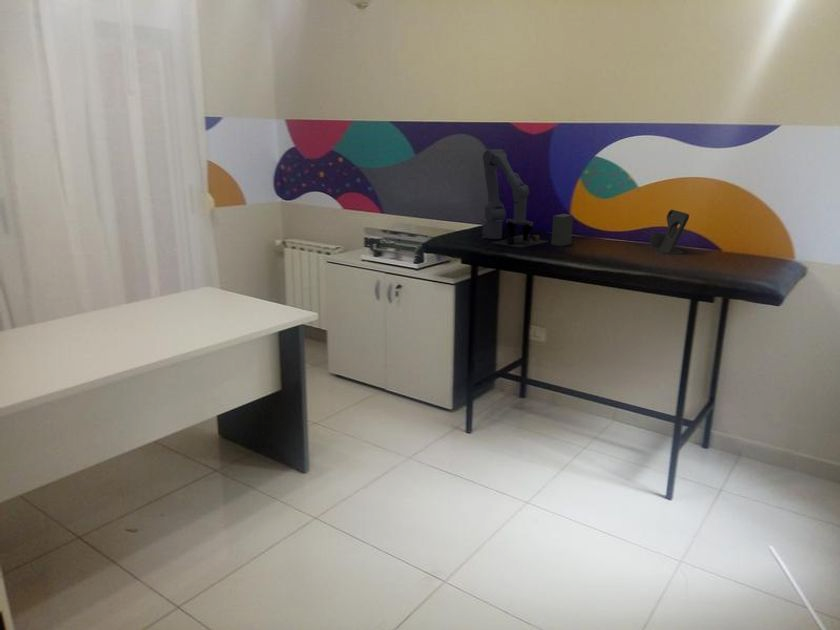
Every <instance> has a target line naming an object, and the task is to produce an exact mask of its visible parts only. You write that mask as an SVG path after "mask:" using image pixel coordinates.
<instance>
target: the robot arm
mask: <svg viewBox="0 0 840 630" xmlns="http://www.w3.org/2000/svg"><path fill="white" fill-rule="evenodd" d="M507 157H508V154H506V151H505V149H503V148H499V149H490V148H487V149H485V151H484V152H483V154H482V160H483V171H484V180H485V186H486V193H487V200H488V203H487V204H486V205H485V206H484V218H485V221H484V222H483V224H482V237H481V239H490V240H492V239H493V240H498V239H499V240H500V239H502V238H503V237H502V236H503V235H502V234H503V222H504V221H505V223H506V229H507V230H508V233H509V234H508V235H509V238H510V237H515V231H516V228H517V225H522V226H521V228H522V232H523V233H522V235H523V241H526V240H527V238H528V235H529V234H530V233H531V230H532V229H533V227H534V221H531V220H527V219H526V218H527V205H528V204H527V203H528V202H527V200H528V197H529V196H530V194H531V190H530V187H529V185H527V184H525V183H524V182H523V180H522V179H521V177H520V175H519V174H518V173H517V172H514V171H513V168H512V166H511V165H510V163H509V161H508V158H507ZM498 167H500V168H501V170H502V171H503V173H504V174H505V175H506V181H507V183H508V185H509V186H510V188H511V189H512V192H511V194H512V196H513V202H514V203H513V206H514V207H513V218H506V217H507V211H506V209H505V206H504V204H503V202H501V200H500V195H499V189H498V188H499V187H498V180H497V174H496V170H497V168H498Z"/></svg>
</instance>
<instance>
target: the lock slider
mask: <svg viewBox="0 0 840 630" xmlns="http://www.w3.org/2000/svg"><path fill="white" fill-rule="evenodd" d="M540 236H541V235H539V234H533V235H532V236H531V239H532V240H535V241H537V240H541V239H540Z"/></svg>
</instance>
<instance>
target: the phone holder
mask: <svg viewBox="0 0 840 630" xmlns="http://www.w3.org/2000/svg"><path fill="white" fill-rule="evenodd" d="M689 219H690V214H689V213H686V212H683V211H679V210H675V209H670V210H669V211H668V213H667V215H666V222H667V228H668V230H667V232H666V233H653V234H651V237H650V245H649V249H652V250H654V251H657V252H658V253H660V254H664V255H685V254H686V251H683V250H681V249H678V248H676V245H677V243H678V241H679V239H680V237H681V236H682V233H683V231H684V229H685V228H686V225H687V222H688V220H689ZM678 226H679V227H678Z"/></svg>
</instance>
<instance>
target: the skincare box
mask: <svg viewBox="0 0 840 630" xmlns="http://www.w3.org/2000/svg"><path fill="white" fill-rule="evenodd" d="M573 220H574V215H573V214H567V213H561V214H557V215H556V214H555V215H553V216H552V227H551V228H552V231H551V245H553V246H558V247H563V246H568V245H572V237H573V234H572V233H573V223H574V221H573Z"/></svg>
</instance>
